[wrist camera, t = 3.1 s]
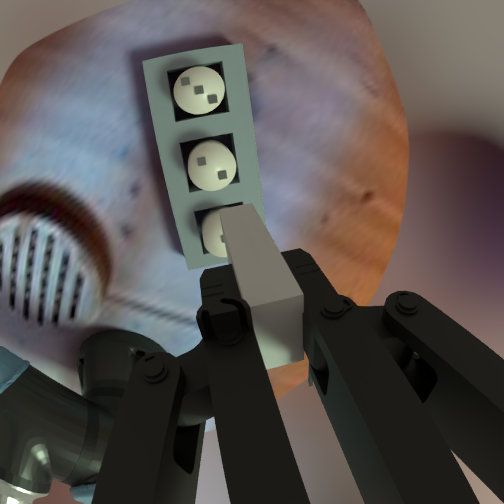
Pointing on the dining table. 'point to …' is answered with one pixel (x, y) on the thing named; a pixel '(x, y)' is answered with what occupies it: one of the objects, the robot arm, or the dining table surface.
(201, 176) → the button
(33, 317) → the dining table surface
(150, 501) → the robot arm
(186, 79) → the button
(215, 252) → the button
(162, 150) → the button board
